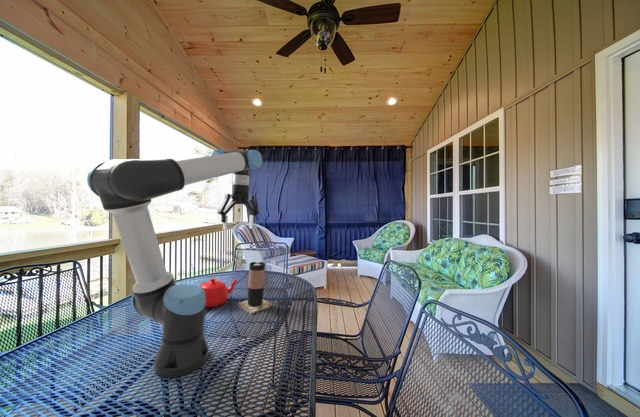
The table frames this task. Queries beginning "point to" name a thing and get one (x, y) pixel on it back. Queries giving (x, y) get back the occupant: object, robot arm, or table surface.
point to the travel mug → (256, 283)
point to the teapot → (216, 292)
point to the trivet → (254, 309)
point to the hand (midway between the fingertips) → (238, 229)
